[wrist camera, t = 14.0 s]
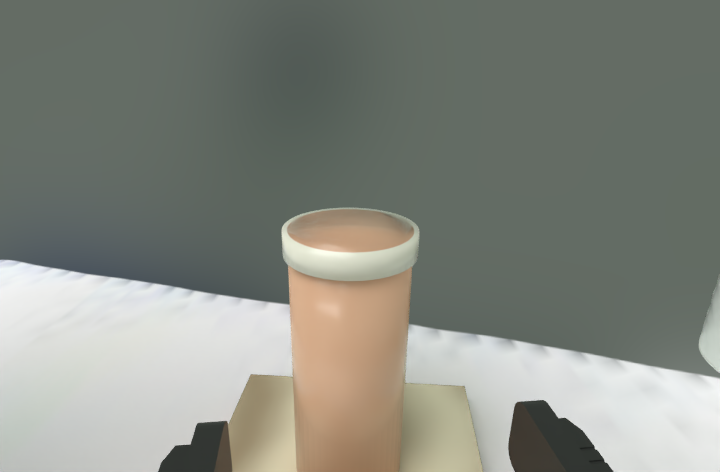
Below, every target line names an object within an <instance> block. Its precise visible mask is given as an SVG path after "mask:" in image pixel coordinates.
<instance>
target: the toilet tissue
mask: <svg viewBox="0 0 720 472" xmlns="http://www.w3.org/2000/svg"><path fill="white" fill-rule="evenodd" d="M699 350H700V352H701V354H702V356H703V357H704V359H705V360H706V361H707V362H708V363H709V365H711V366H712V367H713V368H714V369H715V370H716V371H717V372H719V373H720V274H719V276H718V282H717V285H716V288H715V290H714V292H713V294H712V301H711V304H710V307H709V309H708V311H707V313H706V319H705V321H704V323H703V329H702V333H701V336H700V339H699Z"/></svg>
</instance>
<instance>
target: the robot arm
mask: <svg viewBox="0 0 720 472" xmlns="http://www.w3.org/2000/svg"><path fill="white" fill-rule="evenodd" d="M509 456H510V460H511V464H512V466H513V468H514V470H515V472H613V470H612V469H611V468H610V467H609V465H608V464H607V463H605V462H604V459H603V457H602V456H601V455H600V453H599V452H598V451H597V450H595V448H594V445H593V444H592V443H591V441H590V440H589V439H588V437H587V436H586V435H585V433H584V432H583V431H582V430H581V429H579V428H578V427H577V426H575V425H574V424H573V423H572V422H570V421H569V420H568V419H566V418H559V419H558V417H557V416H556V414H555V413H554V412H553V410H552V409H551V407H550V406H549V405H548V403H547V402H546V401H544V400H539V401H524V402H517V403H516V404H515V408H514V413H513V419H512V426H511V432H510V438H509ZM158 472H232V459H231V449H230V440H229V430H228V423H227V421H219V422H205V423H198V424H197V426H196V428H195V432H194V435H193V439H192V442H191V445H179V446H175V447H174V448H173V449H172V451H171V452H170V453H169V454H168V455H167V457H166V458H165V459H164V460H163V461H162V463H161V465H160V468H159V471H158Z"/></svg>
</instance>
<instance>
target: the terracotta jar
mask: <svg viewBox="0 0 720 472" xmlns="http://www.w3.org/2000/svg"><path fill="white" fill-rule="evenodd" d="M418 246H419V228H418V227H417V225H416V224H415V223H414V222H412V221H411V220H409V219H407V218H405V217H403V216H400V215H397V214H394V213H390V212H386V211H381V210H374V209H364V208H332V209H323V210H317V211H312V212H308V213H304V214H301V215H298V216H296V217H294V218H292V219H290V220H289V221H287V222H286V223H285V224H284V225H283V227H282V247H283V248H282V249H283V258H284V260H285V262H286V263H287V264H288V270H289V295H290V321H291V345H292V370H293V395H294V420H295V445H296V469H297V472H399V470H400V454H401V438H402V422H403V405H404V389H405V373H406V357H407V341H408V324H409V308H410V292H411V276H412V266H413V265H414V264H415V262H416V261H417V258H418Z"/></svg>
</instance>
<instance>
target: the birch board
mask: <svg viewBox="0 0 720 472" xmlns="http://www.w3.org/2000/svg"><path fill="white" fill-rule="evenodd" d="M228 430H229V440H230V449H231V459H232V472H297V469H296V445H295V420H294V395H293V377H288V376H270V375H252V374H251V375H250V378H249V380H248V382H247V384H246V387H245V389H244V391H243V393H242V395H241V398H240V400H239V402H238V404H237V407H236V409H235V411H234V413H233V415H232V418H231V420H230V422H229V424H228ZM399 472H483V468H482V464H481V459H480V455H479V450H478V445H477V441H476V436H475V432H474V427H473V423H472V418H471V414H470V409H469V404H468V400H467V395H466V391H465V386H451V385H432V384H414V383H405V389H404V405H403V422H402V438H401V454H400V470H399Z"/></svg>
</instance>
